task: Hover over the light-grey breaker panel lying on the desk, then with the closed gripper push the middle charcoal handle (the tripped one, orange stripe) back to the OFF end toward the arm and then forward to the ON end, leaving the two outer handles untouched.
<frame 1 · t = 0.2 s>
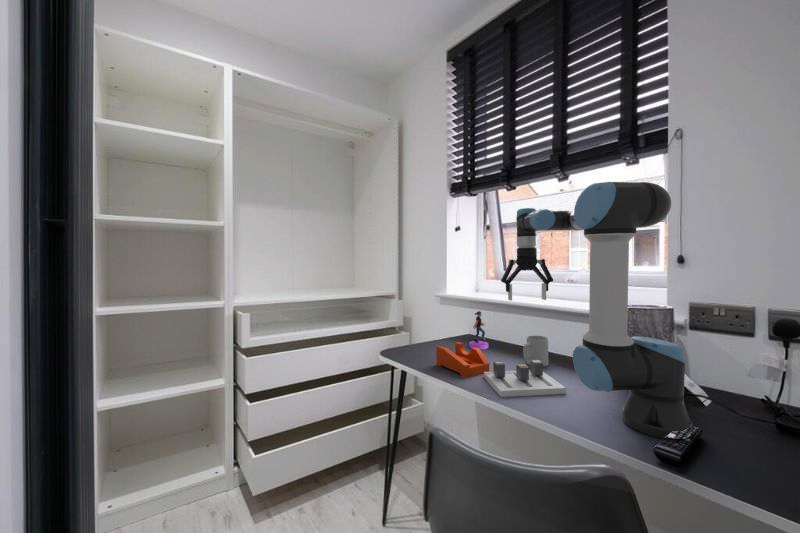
hand: (527, 299, 138), 28 cm above the table, fingers open, 13 cm apart
panel: (522, 384, 121), on the table
breaker 1: (536, 367, 125), point 5 cm above the table, slide at 8.0 cm
mug: (534, 364, 143), on the table
breaker 3: (499, 369, 124), point 5 cm above the table, slide at 8.0 cm
breaker 2: (522, 372, 121), point 5 cm above the table, slide at 4.0 cm
figurine: (478, 347, 171), on the table
tape dispenser: (462, 369, 140), on the table
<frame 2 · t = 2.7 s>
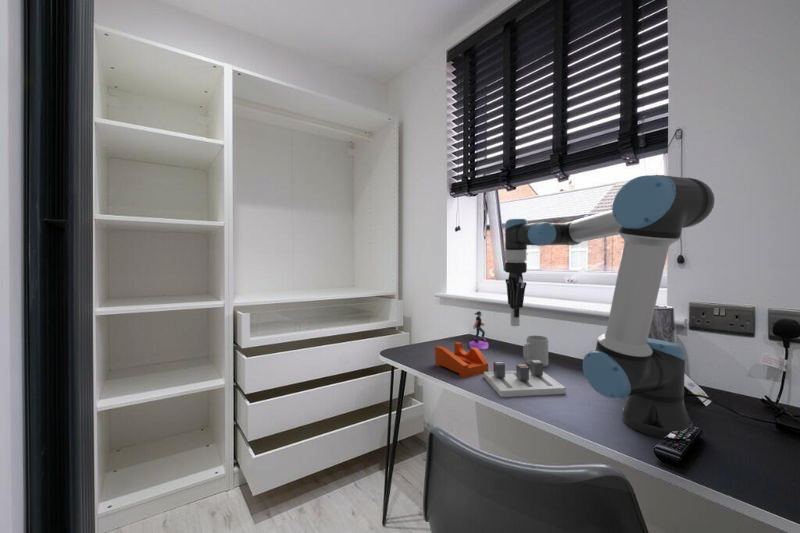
hand: (514, 325, 126), 20 cm above the table, fingers closed
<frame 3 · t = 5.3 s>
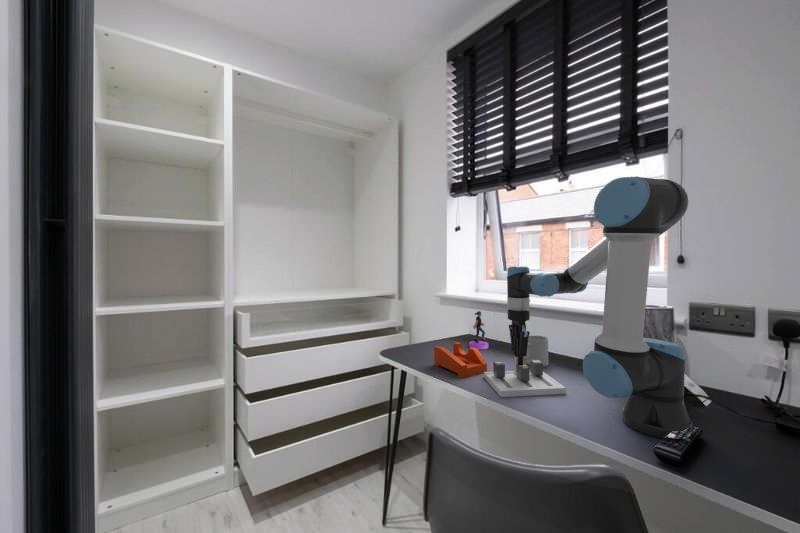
hand: (519, 373, 124), 3 cm above the table, fingers closed
breaker 2: (523, 372, 120), point 5 cm above the table, slide at 3.5 cm, touching gripper
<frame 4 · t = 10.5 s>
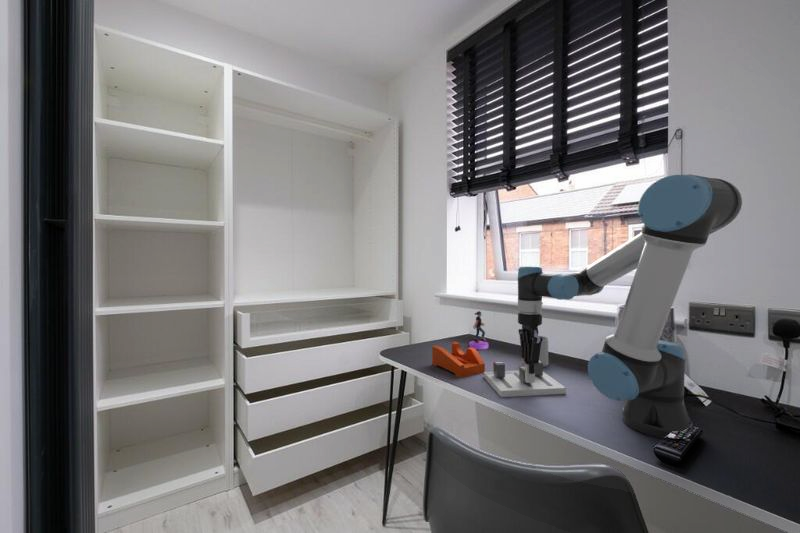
hand: (529, 381, 115), 4 cm above the table, fingers closed
breaker 2: (525, 374, 118), point 5 cm above the table, slide at 1.5 cm, touching gripper
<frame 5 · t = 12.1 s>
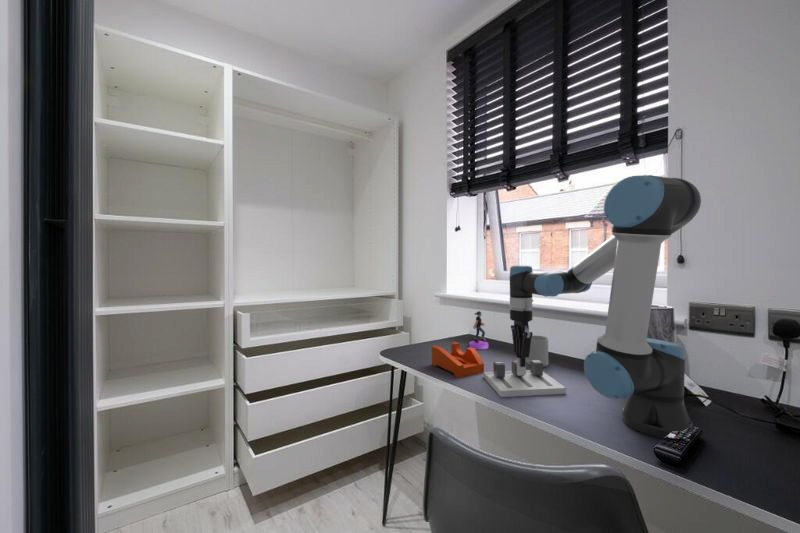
hand: (521, 374, 121), 4 cm above the table, fingers closed
breaker 2: (517, 368, 125), point 5 cm above the table, slide at 8.2 cm, touching gripper
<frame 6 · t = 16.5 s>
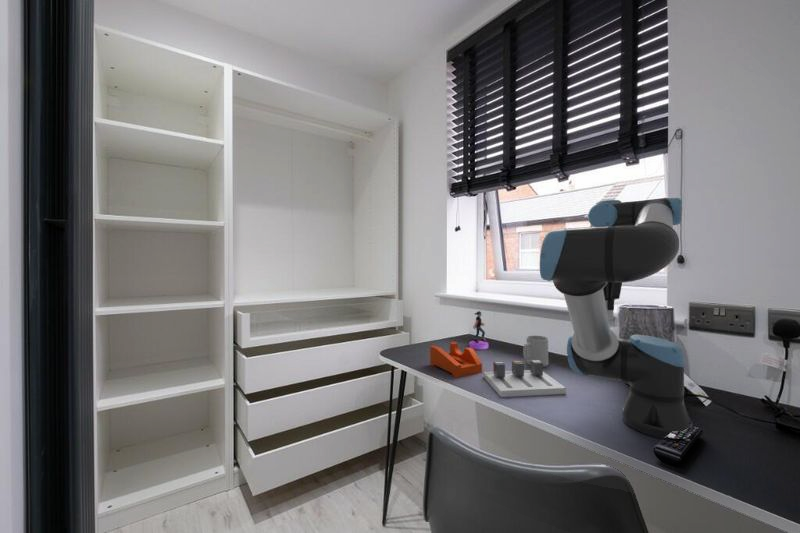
hand: (607, 319, 113), 24 cm above the table, fingers closed
breaker 2: (517, 368, 125), point 5 cm above the table, slide at 8.1 cm
at the end: breaker 2 slide at 8.1 cm; breaker 1 slide at 8.0 cm; breaker 3 slide at 8.0 cm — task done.
